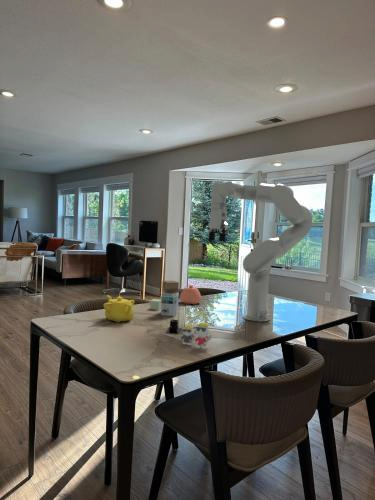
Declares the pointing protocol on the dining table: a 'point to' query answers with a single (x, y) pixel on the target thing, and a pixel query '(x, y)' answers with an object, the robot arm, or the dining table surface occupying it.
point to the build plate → (173, 327)
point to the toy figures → (201, 332)
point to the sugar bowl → (190, 295)
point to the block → (170, 286)
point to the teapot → (119, 309)
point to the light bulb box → (169, 304)
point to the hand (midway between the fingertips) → (216, 240)
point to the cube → (155, 304)
